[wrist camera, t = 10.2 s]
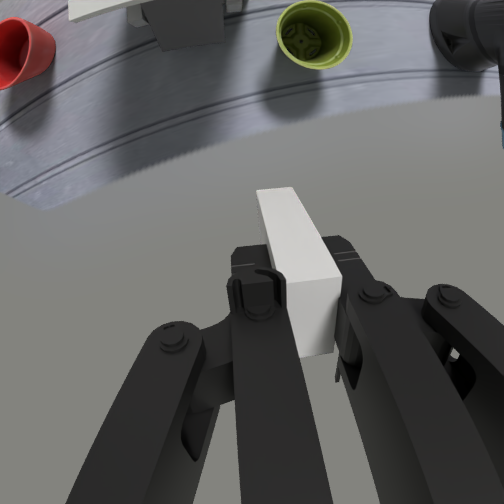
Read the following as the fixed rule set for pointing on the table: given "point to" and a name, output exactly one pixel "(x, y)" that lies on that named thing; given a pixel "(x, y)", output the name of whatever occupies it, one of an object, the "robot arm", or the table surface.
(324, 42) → the plant pot
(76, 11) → the box
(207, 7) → the breaker switch
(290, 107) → the table surface
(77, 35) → the table surface
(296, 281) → the robot arm
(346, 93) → the table surface
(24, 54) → the flower pot
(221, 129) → the table surface
